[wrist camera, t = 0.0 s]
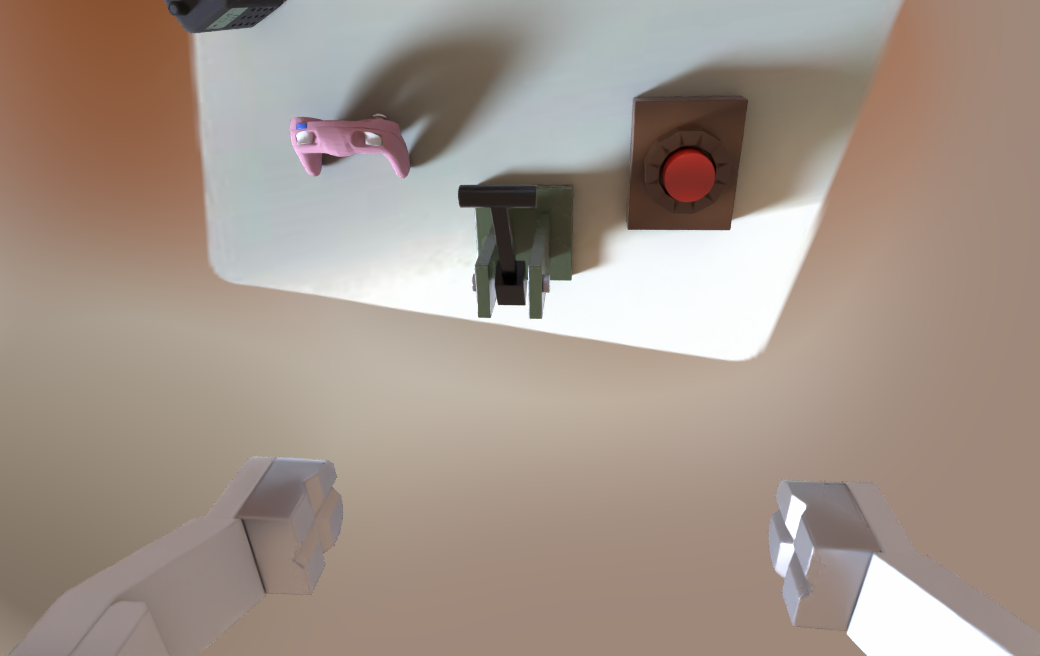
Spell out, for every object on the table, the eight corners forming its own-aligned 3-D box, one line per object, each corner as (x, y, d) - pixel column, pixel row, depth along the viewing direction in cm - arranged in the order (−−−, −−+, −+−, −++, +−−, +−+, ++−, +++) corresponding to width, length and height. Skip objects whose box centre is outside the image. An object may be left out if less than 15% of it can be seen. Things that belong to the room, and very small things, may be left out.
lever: (460, 174, 41) (456, 203, 40) (537, 174, 40) (535, 203, 39) (483, 279, 51) (480, 304, 50) (544, 280, 51) (543, 306, 50)
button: (664, 148, 51) (666, 153, 50) (714, 148, 51) (718, 152, 49) (660, 196, 53) (662, 202, 52) (708, 196, 53) (712, 202, 51)
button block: (633, 97, 53) (636, 104, 50) (742, 95, 52) (753, 103, 49) (626, 222, 58) (628, 236, 55) (725, 222, 57) (734, 237, 54)
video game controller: (415, 130, 58) (393, 105, 51) (413, 180, 58) (391, 162, 51) (311, 129, 59) (276, 104, 52) (310, 178, 59) (274, 160, 52)
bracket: (475, 185, 58) (445, 235, 46) (572, 185, 57) (568, 236, 45) (480, 274, 62) (455, 342, 50) (571, 275, 61) (567, 345, 49)
